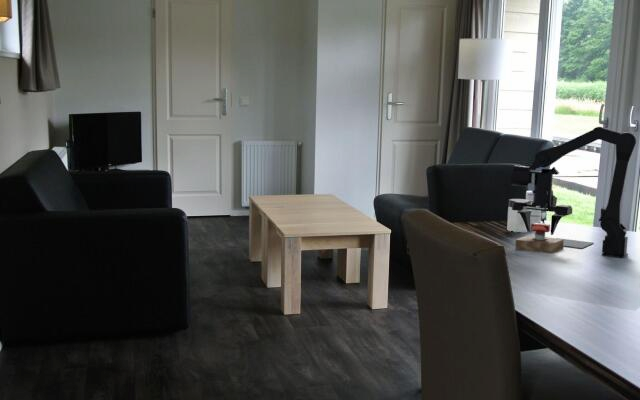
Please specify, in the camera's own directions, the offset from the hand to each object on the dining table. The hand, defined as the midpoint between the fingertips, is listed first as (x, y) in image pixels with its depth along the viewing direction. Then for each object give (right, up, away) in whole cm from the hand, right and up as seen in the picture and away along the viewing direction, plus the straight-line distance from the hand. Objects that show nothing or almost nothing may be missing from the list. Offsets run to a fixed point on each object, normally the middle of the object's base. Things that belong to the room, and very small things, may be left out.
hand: (540, 233), depth 233 cm
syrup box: (+11, 0, +44) cm, 45 cm away
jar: (+3, -1, +35) cm, 35 cm away
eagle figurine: (+15, +1, +55) cm, 57 cm away
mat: (+13, -4, +9) cm, 17 cm away
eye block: (0, -5, +1) cm, 5 cm away
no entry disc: (0, -5, +1) cm, 5 cm away
